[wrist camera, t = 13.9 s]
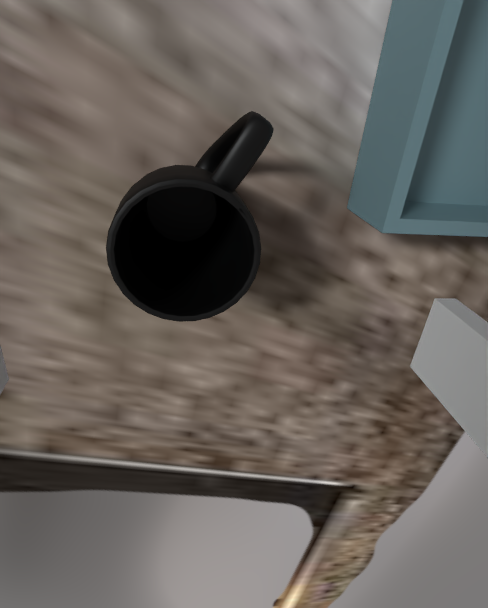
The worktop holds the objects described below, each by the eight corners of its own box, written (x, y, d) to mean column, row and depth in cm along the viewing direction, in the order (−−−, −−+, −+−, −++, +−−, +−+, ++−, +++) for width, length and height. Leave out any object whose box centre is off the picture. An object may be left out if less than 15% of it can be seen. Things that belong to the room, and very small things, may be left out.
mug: (289, 148, 28) (337, 175, 20) (199, 277, 32) (208, 343, 24) (192, 70, 25) (202, 63, 16) (104, 224, 28) (77, 280, 20)
